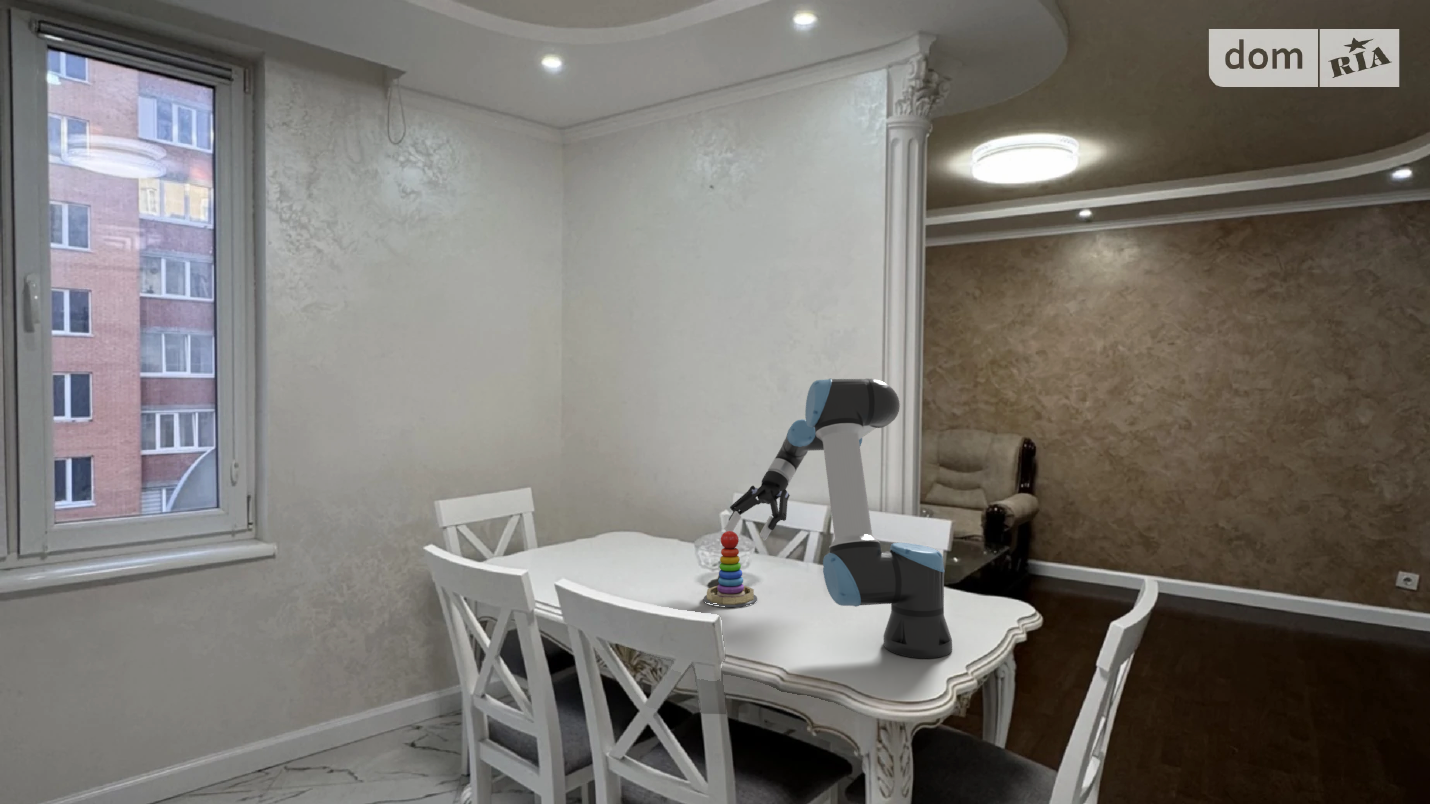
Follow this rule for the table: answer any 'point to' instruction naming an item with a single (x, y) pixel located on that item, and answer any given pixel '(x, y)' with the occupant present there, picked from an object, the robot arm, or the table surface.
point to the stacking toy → (730, 567)
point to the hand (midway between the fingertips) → (744, 534)
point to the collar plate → (730, 598)
